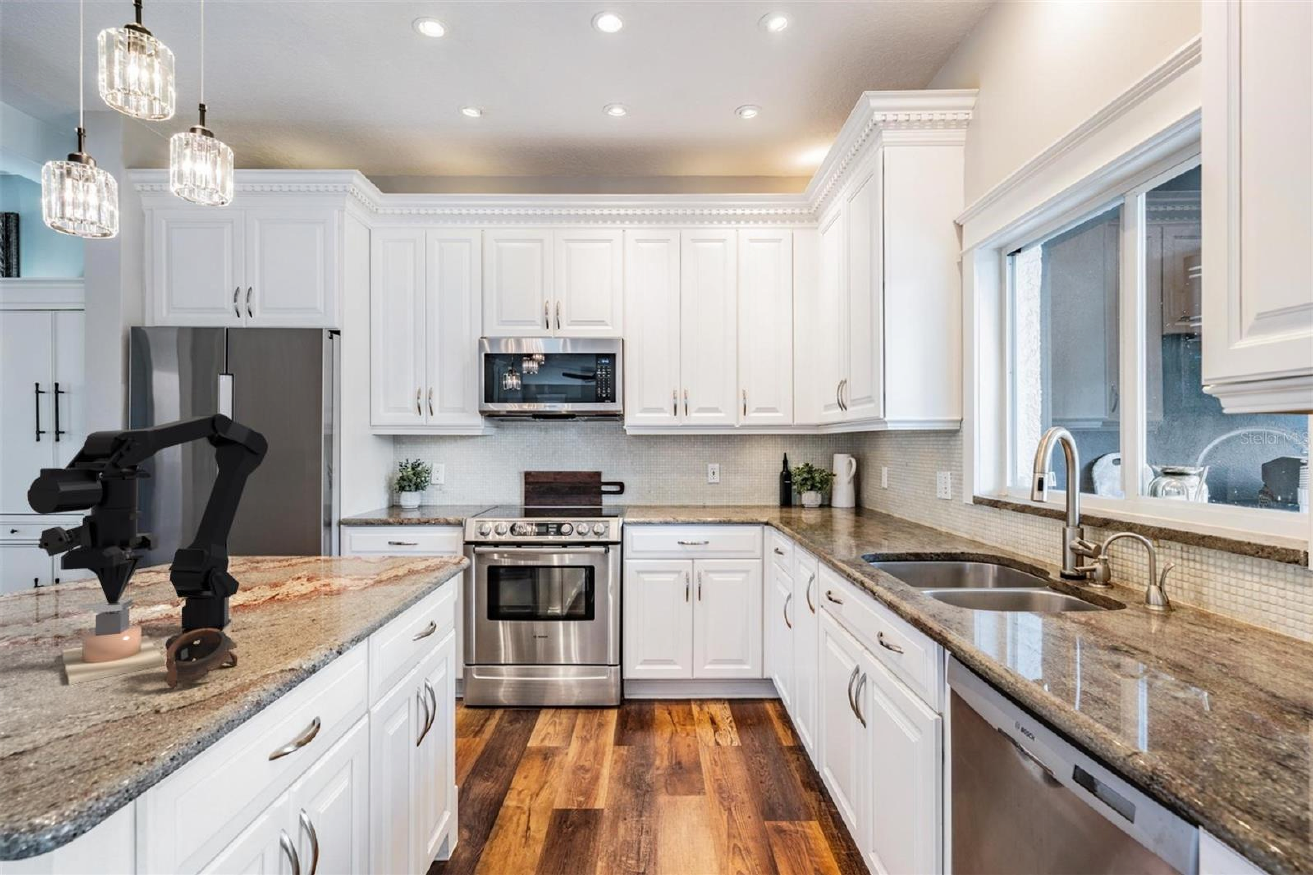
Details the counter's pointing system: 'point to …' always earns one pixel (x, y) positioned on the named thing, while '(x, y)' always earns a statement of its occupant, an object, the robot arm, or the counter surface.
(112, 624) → the pump jar
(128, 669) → the birch board
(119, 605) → the pump head
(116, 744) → the counter surface
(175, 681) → the brown ring stand
